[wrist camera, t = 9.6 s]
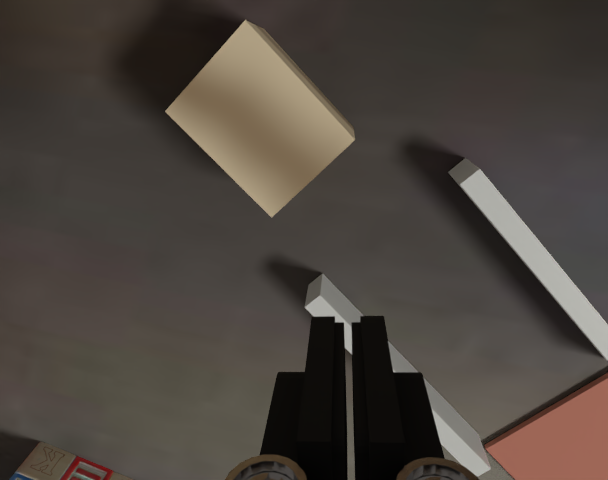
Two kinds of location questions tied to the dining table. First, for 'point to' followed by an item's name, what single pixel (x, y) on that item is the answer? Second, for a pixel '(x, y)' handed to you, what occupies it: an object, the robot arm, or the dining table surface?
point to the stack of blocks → (61, 466)
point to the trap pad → (560, 439)
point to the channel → (533, 254)
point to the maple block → (261, 118)
